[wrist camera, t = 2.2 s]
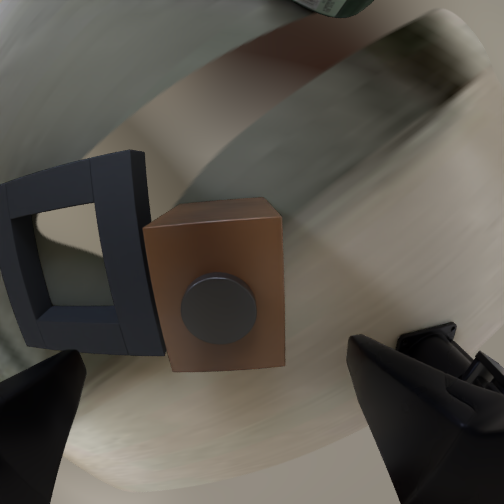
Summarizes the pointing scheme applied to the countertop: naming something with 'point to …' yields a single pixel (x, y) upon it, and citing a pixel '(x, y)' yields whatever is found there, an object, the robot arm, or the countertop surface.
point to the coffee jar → (335, 7)
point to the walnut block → (219, 284)
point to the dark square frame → (113, 248)
